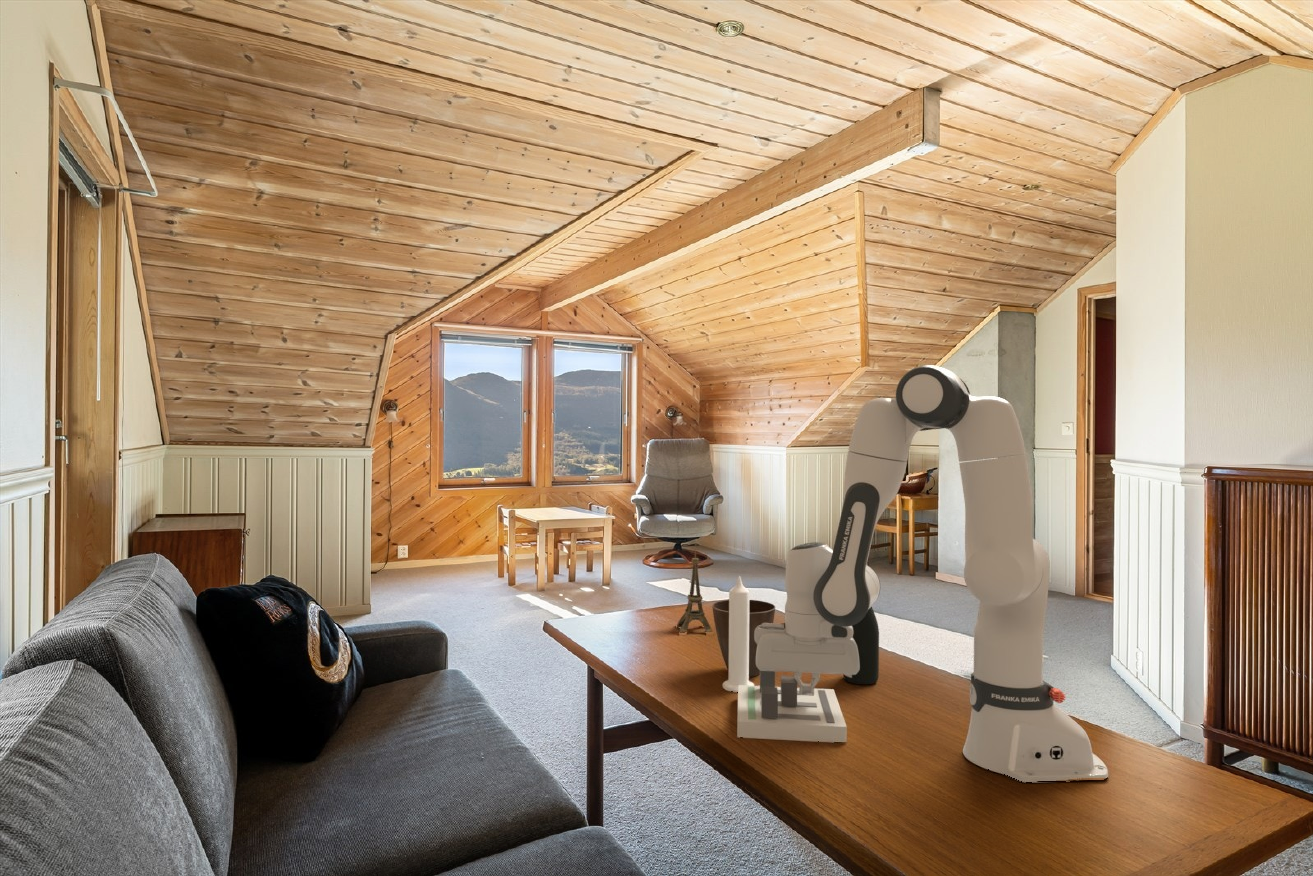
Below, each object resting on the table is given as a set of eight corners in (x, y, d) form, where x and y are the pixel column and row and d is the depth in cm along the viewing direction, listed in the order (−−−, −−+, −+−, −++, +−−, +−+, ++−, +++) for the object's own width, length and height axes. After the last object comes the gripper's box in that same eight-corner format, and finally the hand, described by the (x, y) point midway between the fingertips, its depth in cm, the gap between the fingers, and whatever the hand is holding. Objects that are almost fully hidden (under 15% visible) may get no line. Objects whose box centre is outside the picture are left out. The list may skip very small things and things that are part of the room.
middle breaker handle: (795, 698, 154) (795, 677, 154) (797, 705, 150) (797, 683, 150) (780, 698, 154) (780, 676, 154) (781, 705, 150) (781, 682, 150)
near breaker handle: (776, 710, 148) (777, 687, 148) (777, 717, 144) (777, 694, 144) (761, 709, 148) (761, 686, 148) (761, 717, 144) (761, 693, 144)
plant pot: (704, 678, 178) (705, 609, 177) (720, 660, 192) (720, 597, 192) (768, 686, 173) (769, 615, 173) (779, 667, 187) (780, 601, 187)
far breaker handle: (774, 686, 162) (774, 665, 162) (774, 692, 158) (775, 671, 158) (759, 685, 162) (759, 665, 162) (760, 692, 158) (760, 670, 158)
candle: (753, 694, 167) (754, 579, 167) (720, 691, 169) (721, 578, 168) (755, 683, 174) (756, 573, 174) (724, 681, 176) (725, 572, 175)
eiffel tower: (710, 626, 227) (711, 541, 227) (715, 635, 217) (716, 547, 216) (674, 626, 226) (675, 541, 226) (678, 635, 216) (679, 547, 216)
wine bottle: (841, 684, 174) (842, 552, 174) (843, 673, 182) (844, 547, 182) (878, 687, 172) (879, 554, 172) (878, 677, 180) (880, 549, 180)
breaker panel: (833, 703, 162) (833, 688, 162) (846, 743, 141) (846, 725, 141) (738, 699, 164) (738, 684, 164) (737, 737, 143) (737, 720, 143)
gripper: (754, 626, 150) (753, 696, 150) (861, 630, 148) (860, 701, 148) (754, 618, 156) (753, 686, 156) (856, 622, 154) (856, 691, 154)
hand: (806, 693), depth 152 cm, fingers closed
